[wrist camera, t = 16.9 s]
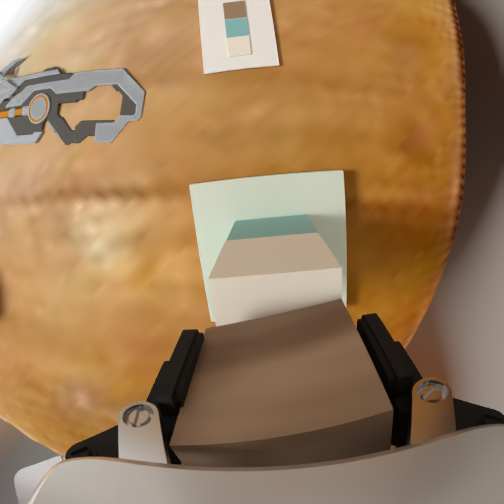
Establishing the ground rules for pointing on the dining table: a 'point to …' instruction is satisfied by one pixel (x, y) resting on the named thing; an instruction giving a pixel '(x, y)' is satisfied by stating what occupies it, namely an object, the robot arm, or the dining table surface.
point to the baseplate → (269, 211)
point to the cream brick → (272, 277)
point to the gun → (62, 91)
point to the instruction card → (237, 35)
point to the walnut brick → (283, 393)
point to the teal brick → (271, 227)
